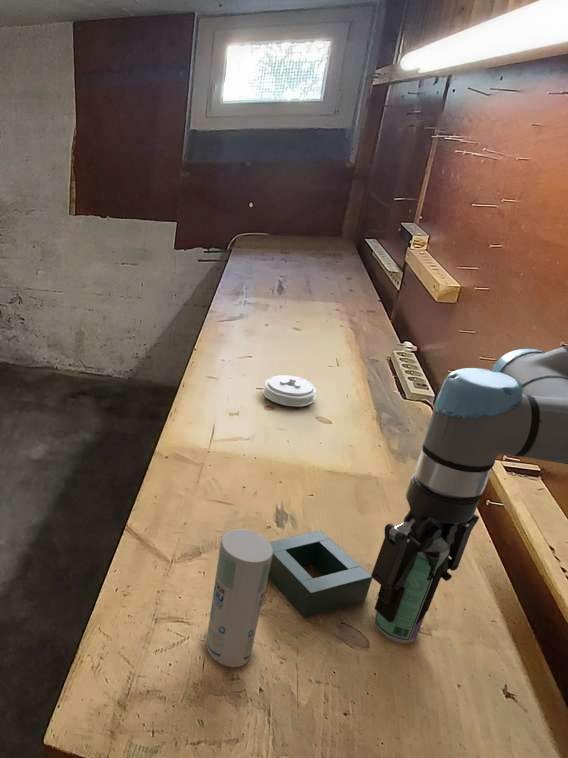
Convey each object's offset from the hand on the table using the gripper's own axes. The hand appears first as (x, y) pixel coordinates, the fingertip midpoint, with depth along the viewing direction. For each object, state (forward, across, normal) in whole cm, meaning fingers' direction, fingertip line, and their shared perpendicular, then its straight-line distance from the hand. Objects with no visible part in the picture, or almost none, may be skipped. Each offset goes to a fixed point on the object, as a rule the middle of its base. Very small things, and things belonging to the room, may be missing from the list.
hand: (401, 609), depth 84 cm
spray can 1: (+4, +26, -4) cm, 27 cm away
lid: (+4, -34, -68) cm, 76 cm away
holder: (+4, +6, -11) cm, 13 cm away
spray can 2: (+4, 0, 0) cm, 4 cm away
